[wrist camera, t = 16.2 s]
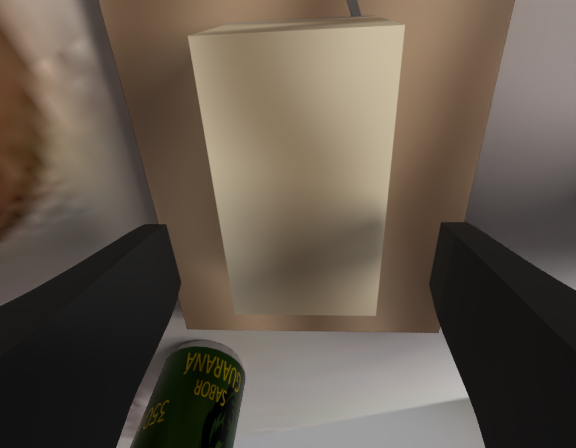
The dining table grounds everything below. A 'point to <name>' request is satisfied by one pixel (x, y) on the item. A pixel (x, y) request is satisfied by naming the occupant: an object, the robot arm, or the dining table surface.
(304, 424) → the dining table surface
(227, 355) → the guarana soda can
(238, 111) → the block
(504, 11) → the board
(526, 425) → the robot arm
